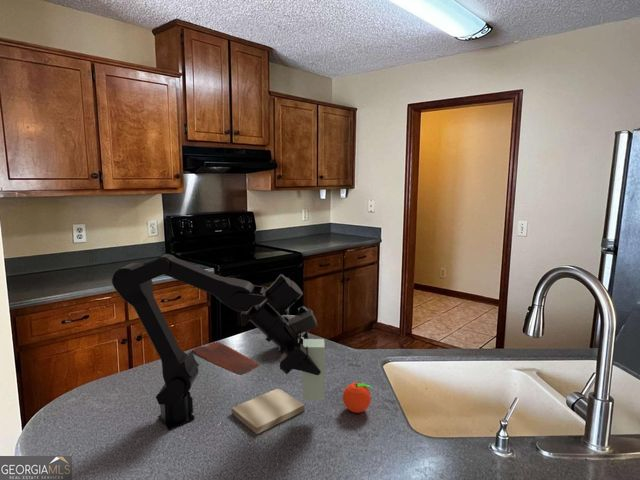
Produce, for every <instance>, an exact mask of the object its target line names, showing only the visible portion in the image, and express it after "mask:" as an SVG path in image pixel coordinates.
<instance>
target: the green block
mask: <svg viewBox="0 0 640 480" xmlns="http://www.w3.org/2000/svg"><path fill="white" fill-rule="evenodd" d="M303 346H304V347H305V348H306V347H307V346H308V355H309V357H310V358H311V359H312V361H313V362H314V363H315V364H316V366H317V367H318V368H319V370H320V371H321V373H320V374H319V375H314V374H311V373H307V372H304V371H302V401H325V354H326V352H325V348H326V347H325V339H324V338H308V339H303Z"/></svg>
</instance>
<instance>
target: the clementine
mask: <svg viewBox="0 0 640 480" xmlns="http://www.w3.org/2000/svg"><path fill="white" fill-rule="evenodd" d="M370 388H371V389H372V390H373V392H374V388H373V387H372V386H371V385H368V384H367V383H362V382H352V383H350V384H348V385H347V386H346V387H345V389H344V391H343V394H342V400H343V404H344V405H345V407H346V409H347V410H348V411H350V412H353V413H355V414H357V413H362V412H365V411H366V410H367V409H368V408H369V406H370V405H371V400H372V397H371V392H370V390H369V389H370ZM374 393H375V392H374Z"/></svg>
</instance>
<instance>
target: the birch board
mask: <svg viewBox="0 0 640 480" xmlns="http://www.w3.org/2000/svg"><path fill="white" fill-rule="evenodd" d="M305 408H306V407H305V404H304V403H302V402H301V401H300V400H298V399H296V398H295V397H293V396H291V395H290V394H288V393H286V392H285V391H283V390H282V389H280V388H275V389H273V390H271V391H268V392H266V393H263V394H261V395H259V396H256V397H254V398H251V399H249V400H247V401H245V402H242V403H240V404H238V405H235V406H233V407H232V408H231V414H232V415H233V416H235V418H237V419H238V420H239V421H240V422H242V423H243V424H244V425H245V426H247V427H248V428H249V429H250V430H252V432H254V433H255V434H256V435H258V434H261V433H263V432H265V431H266V430H268V429H270V428H272V427H274V426H276V425H279V424H280V423H282V422H285V421H286V420H288V419H291V418H293V417H294V416H297V415H299V414H300V413H302V412H304V411H305Z"/></svg>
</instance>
